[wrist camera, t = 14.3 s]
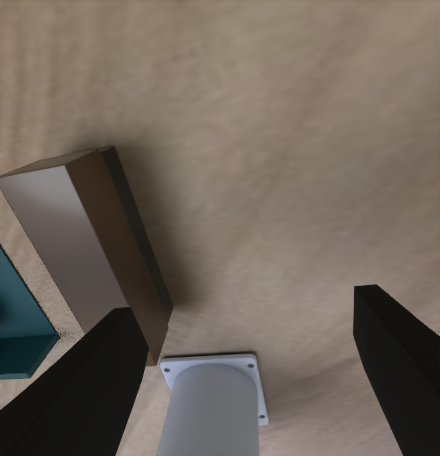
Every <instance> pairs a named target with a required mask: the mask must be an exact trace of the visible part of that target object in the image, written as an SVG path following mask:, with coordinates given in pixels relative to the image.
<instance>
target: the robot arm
mask: <svg viewBox="0 0 440 456" xmlns="http://www.w3.org/2000/svg"><path fill="white" fill-rule="evenodd" d="M353 336H354V339H355V342H356V346H357V349H358V352H359V355H360V358H361V361H362V364H363V367H364V370H365V372H366V374H367V376H368V379H369V381H370V383H371V385H372V388H373V390H374V392H375V394H376V397H377V399H378V401H379V403H380V405H381V408H382V410H383V412H384V414H385V417H386V419H387V421H388V423H389V425H390V428H391V430H392V432H393V434H394V436H395V439H396V441H397V443H398V445H399V447H400V450H401V452H402V454H403V456H440V336H439V335H437V334H436V333H435V332H434V331H432V330H431V329H430V328H428V327H427V326H426V325H425V324H424V323H422V322H421V321H420V320H419V319H417V318H416V317H415V316H414V315H413V314H411V313H410V312H409V311H408V310H407V309H405V308H404V307H403V306H402V305H401V304H399V303H398V302H397V301H396V300H395V299H394V298H392V297H391V296H390V295H389V294H388V293H386V292H385V291H384V290H383V289H382V288H380V287H379V286H378V285H377V284H375V285H364V286H354V321H353ZM148 352H149V346H148V344H147V342H146V340H145V337H144V335H143V333H142V331H141V329H140V326H139V324H138V322H137V320H136V317H135V315H134V313H133V311H132V309H131V307H122V308H114V309H113V310H112V311H110V312H109V313H108V314H107V315H106V316H105V317H104V318H103V319H101V320H100V321H99V322H98V323H97V324H96V325H95V326H94V327H93V328H92V329H91V330H90V331H89V332H88V333H87V334H85V335H84V336H83V337H82V338H81V339H80V340H79V341H78V342H77V343H76V344H75V345H74V346H73V347H72V348H71V349H69V350H68V351H67V352H66V353H65V354H64V355H63V356H62V357H61V358H60V359H59V360H58V361H57V362H56V363H54V364H53V365H52V366H51V367H50V368H49V369H48V370H46V371H45V372H44V373H43V374H42V375H41V376H40V377H39V378H37V379H36V380H35V381H34V382H33V383H32V384H31V385H29V386H28V387H27V388H26V389H25V390H24V391H23V392H22V393H20V394H19V395H18V396H17V397H16V398H14V399H13V400H12V401H11V402H10V403H8V404H7V405H6V406H5V407H3V408H2V409H1V410H0V456H115V455H116V452H117V450H118V447H119V444H120V441H121V438H122V436H123V433H124V430H125V427H126V424H127V422H128V419H129V416H130V413H131V410H132V408H133V405H134V402H135V399H136V396H137V393H138V390H139V387H140V384H141V381H142V378H143V374H144V370H145V366H146V361H147V356H148ZM159 365H160V368H161V370H162V372H163V375H164V377H165V379H166V381H167V384H168V386H169V388H170V390H171V392H172V393H171V397H170V401H169V405H168V409H167V414H166V418H165V422H164V426H163V430H162V434H161V438H160V442H159V446H158V450H157V454H156V456H259V426H266V425H268V424H269V418H268V413H267V408H266V403H265V398H264V394H263V389H262V384H261V379H260V374H259V369H258V364H257V360H256V357H255V355H253V354H234V355H216V356H198V357H180V358H164V359H162V360H161V361H160V364H159Z"/></svg>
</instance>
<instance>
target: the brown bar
mask: <svg viewBox="0 0 440 456" xmlns="http://www.w3.org/2000/svg"><path fill="white" fill-rule="evenodd" d="M0 189H1V191H2V193H3V194H4V196H5V198H6V200H7V201H8V203H9V205H10V206H11V208H12V210H13V212H14V213H15V215H16V217H17V218H18V220H19V222H20V224H21V225H22V227H23V229H24V230H25V232H26V234H27V236H28V237H29V239H30V241H31V242H32V244H33V246H34V248H35V249H36V251H37V253H38V254H39V256H40V258H41V259H42V261H43V263H44V265H45V266H46V268H47V270H48V271H49V273H50V275H51V277H52V278H53V280H54V282H55V283H56V285H57V287H58V289H59V290H60V292H61V294H62V295H63V297H64V299H65V301H66V302H67V304H68V306H69V307H70V309H71V311H72V313H73V314H74V316H75V318H76V319H77V321H78V323H79V324H80V326H81V328H82V330H83V331H84V333H85V334H87V333H88V332H89V331H90V330H91V329H92V328H93V327H94V326H95V325H96V324H97V323H98V322H99V321H100V320H101V319H103V318H104V317H105V316H106V315H107V314H108V313H109V312H110V311H112V310H113V309H114V308H122V307H131V309H132V311H133V313H134V315H135V317H136V320H137V322H138V324H139V326H140V329H141V331H142V333H143V335H144V337H145V340H146V342H147V344H148V346H149V352H148V356H147V361H146V366H156V365H157V362H158V359H159V356H160V353H161V350H162V346H163V343H164V340H165V337H166V334H167V331H168V328H169V327H168V322H169V319H170V316H171V313H172V310H173V307H172V304H171V301H170V298H169V296H168V293H167V290H166V287H165V285H164V282H163V279H162V276H161V274H160V271H159V268H158V265H157V263H156V260H155V257H154V254H153V252H152V249H151V246H150V243H149V241H148V238H147V235H146V232H145V230H144V227H143V224H142V221H141V219H140V216H139V213H138V210H137V208H136V205H135V202H134V199H133V197H132V194H131V191H130V188H129V186H128V183H127V180H126V177H125V175H124V172H123V169H122V166H121V164H120V161H119V158H118V155H117V153H116V150H115V147H114V146H109V147H104V148H99V149H98V148H97V149H92V150H87V151H82V152H77V153H72V154H67V155H62V156H57V157H52V158H47V159H42V160H39V161H36V162H34V163H31V164H28V165H26V166H23V167H21V168H18V169H16V170H13V171H10V172H8V173H5V174H3V175H0Z"/></svg>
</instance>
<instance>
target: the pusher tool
mask: <svg viewBox="0 0 440 456" xmlns="http://www.w3.org/2000/svg"><path fill="white" fill-rule="evenodd" d="M59 339H60V337H59V336H58V334H57V333H56V331H55V330H54V328H53V327H52V325H51V324H50V322H49V320H48V319H47V317H46V316H45V314H44V313H43V311H42V310H41V308H40V307H39V305H38V303H37V302H36V300H35V299H34V297H33V296H32V294H31V293H30V291H29V290H28V288H27V287H26V285H25V283H24V282H23V280H22V279H21V277H20V276H19V274H18V273H17V271H16V270H15V268H14V266H13V265H12V263H11V262H10V260H9V259H8V257H7V256H6V254H5V253H4V251H3V249H2V248H1V246H0V380H3V379H24V378H31V377H32V375H33V374H34V373H35V371H36V370H37V369H38V367H39V366H40V364H41V363H42V362H43V360H44V359H45V358H46V356H47V355H48V353H49V352H50V351H51V349H52V348H53V347H54V345H55V344H56V342H57V341H58V340H59Z"/></svg>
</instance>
